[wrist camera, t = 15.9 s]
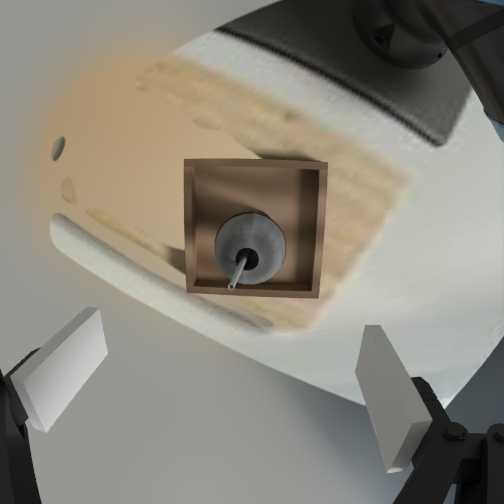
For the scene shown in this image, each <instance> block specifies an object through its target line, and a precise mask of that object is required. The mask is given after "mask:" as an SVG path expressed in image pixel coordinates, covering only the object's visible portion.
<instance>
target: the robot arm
mask: <svg viewBox="0 0 504 504" xmlns="http://www.w3.org/2000/svg"><path fill="white" fill-rule="evenodd" d="M353 19H354V23H355V26H356V29H357V31H358V33H359V35H360V36H361V38H362V40H363V41H364V42H365V43H366V45H367V46H368V47H369V48H370V49H371V50H372V51H373V52H374V53H376V54H377V55H378V56H379V57H381V58H382V59H384V60H386V61H387V62H389V63H391V64H393V65H396V66H399V67H402V68H407V69H422V68H426V67H429V66H430V65H432V64H434V63H436V62H437V61H439V60H440V59H441V58H442V57H443V56H444V55H445V53H446V51H447V49H448V48H449V50H450V51H451V53H452V54H453V56H454V57H455V59H456V60H457V62H458V64H459V65H460V67H461V68H462V70H463V72H464V73H465V75H466V77H467V78H468V80H469V82H470V83H471V85H472V87H473V89H474V90H475V92H476V94H477V96H478V98H479V99H480V101H481V103H482V105H483V107H484V112H485V114H486V116H487V117H488V119H489V120H490V121H491V123H492V124H493V126H494V128H495V130H496V132H497V134H498V136H499V138H500V139H501V140H502V141H503V142H504V0H356V2H355V4H354V8H353ZM107 354H108V351H107V346H106V342H105V337H104V332H103V327H102V321H101V316H100V311H99V309H98V308H91V307H87V308H86V309H85V310H83V311H82V312H81V313H80V314H79V315H77V317H75V318H74V319H73V320H72V321H71V322H69V323H68V324H67V325H66V326H65V327H64V328H62V329H61V330H60V331H59V332H58V333H57V334H56V335H55V336H53V337H52V338H51V339H50V340H49V341H48V342H47V343H46V344H44V345H43V346H42V347H40V348H38V349H36V350H34V351H32V352H30V353H29V354H28V355H27V356H26V357H25V359H23V360H21V362H20V364H19V363H18V364H17V365H16V366H15V367H14V368H13V369H12V370H11V371H10V372H8V373H7V375H5V376H4V377H3V375H2V372H1V370H0V504H42V503H41V499H40V495H39V491H38V487H37V483H36V478H35V473H34V468H33V462H32V457H31V451H30V444H29V439H28V430H27V427H26V424H25V421H26V420H27V419H28V418H29V420H30V422H31V424H32V426H33V428H36V429H38V430H41V431H43V432H45V433H47V432H48V430H49V429H50V428H51V426H52V425H53V424H54V422H55V421H56V420H57V418H58V417H59V416H60V414H61V413H62V412H63V410H64V409H65V408H66V406H67V405H68V404H69V403H70V401H71V400H72V399H73V397H74V396H75V395H76V393H77V392H78V391H79V389H80V388H81V387H82V386H83V384H84V383H85V382H86V381H87V379H88V378H89V377H90V375H91V374H92V373H93V372H94V370H95V369H96V368H97V367H98V365H99V364H100V363H101V362H102V360H103V359H104V358H105V357H106V355H107ZM355 373H356V376H357V379H358V382H359V385H360V388H361V391H362V394H363V397H364V400H365V403H366V406H367V409H368V412H369V415H370V418H371V421H372V424H373V427H374V431H375V434H376V437H377V441H378V444H379V447H380V451H381V454H382V457H383V461H384V464H385V468H386V471H387V473H391V472H397V471H403V470H406V469H407V467H408V466H409V464H410V462H411V461H412V464H413V466H414V470H413V472H412V473H411V475H410V476H409V478H408V479H407V481H406V483H405V485H404V487H403V488H402V490H401V492H400V493H399V494H398V496H397V498H396V499H395V501H394V502H393V504H443V502H444V500H445V498H446V496H447V494H448V491H449V489H450V487H451V485H452V484H456V493H455V500H454V504H504V424H501V423H500V424H494V425H491V426H490V428H489V429H488V430H487V432H486V433H485V434H478V433H468V431H467V429H466V428H464V426H463V425H461V424H459V423H456V422H451V421H450V419H449V417H448V415H447V414H446V412H445V410H444V408H443V407H442V405H441V403H440V402H439V400H437V396H436V395H435V393H433V392H434V391H433V390H432V388H431V386H430V385H429V383H428V382H426V381H425V380H424V379H423V378H421V377H412V378H410V376H409V375H408V373H407V371H406V369H405V367H404V366H403V364H402V362H401V360H400V359H399V357H398V355H397V353H396V352H395V350H394V348H393V346H392V345H391V343H390V341H389V339H388V338H387V336H386V334H385V333H384V331H383V329H382V328H381V326H380V325H365V328H364V333H363V338H362V343H361V348H360V353H359V357H358V362H357V366H356V371H355Z"/></svg>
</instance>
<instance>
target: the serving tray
mask: <svg viewBox="0 0 504 504" xmlns="http://www.w3.org/2000/svg"><path fill="white" fill-rule="evenodd" d="M327 174H328V162H314V161H296V160H272V159H184V228H185V229H184V231H185V264H186V286H187V293H202V294H219V295H237V296H259V297H284V298H317V299H318V297H319V287H320V276H321V265H322V254H323V241H324V227H325V212H326V195H327ZM250 210H261V211H264V212H265V213H266V214H268V215H269V216H270V218H271V219H272V220H273V221H275V222H276V223H277V224H278V226H279V227H280V228H281V230H282V231H283V233H284V237H285V240H286V256H285V258H284V261H283V264H282V265H281V267H280V268H279V269H278V270H277V272H276V273H275V274H274V275H273V276H272V277H271V278H269V279H268V280H266V281H264V282H261V283H257V284H242V283H238V282H237V283H236V285H235V287H234V289H233V290H230V289H229V288H228V285H229V283H230V281H231V279H230V278H229V277H228V276H226V275H225V274H224V273H223V271H222V270H221V269H220V268H219V266H218V263H217V261H216V258H215V250H214V241H215V238H216V234H217V231H218V230H219V228H220V227H221V226H222V224H223V223H224V222H225V221H226V220H228V219H229V218H230V217H232V216H233V215H236V214H239V213H242V212H247V211H250Z"/></svg>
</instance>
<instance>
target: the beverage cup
mask: <svg viewBox="0 0 504 504" xmlns="http://www.w3.org/2000/svg"><path fill="white" fill-rule="evenodd" d="M214 250H215V258H216V261H217V263H218V266H219V268H220V269H221V270H222V271H223V273H224V274H225V275H226V276H228V277H229V278H230V279H231V281H230V283H229V285H228V288H229V289H230V290H233V289H234V287H235V285H236V283H237V282H238V283H242V284H257V283H261V282H264V281H266V280H268V279H269V278H271V277H272V276H273V275H274V274H275V273H276V272H277V270H278V269H279V268H280V267H281V265H282V264H283V261H284V258H285V256H286V240H285V237H284V233H283V231H282V230H281V228H280V227H279V226H278V224H277V223H276V222H275V221H273V220H272V219H271V218H270V216H269V215H268V214H266V213H265V212H264V211H261V210H250V211H247V212H242V213H239V214H236V215H233V216H232V217H230V218H229V219H228V220H226V221H225V222H224V223H223V224H222V226H221V227H220V228H219V230H218V231H217V234H216V238H215V241H214Z"/></svg>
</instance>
